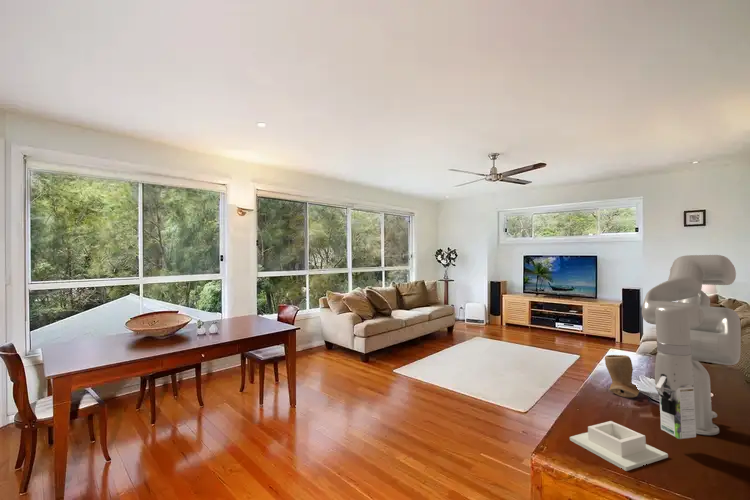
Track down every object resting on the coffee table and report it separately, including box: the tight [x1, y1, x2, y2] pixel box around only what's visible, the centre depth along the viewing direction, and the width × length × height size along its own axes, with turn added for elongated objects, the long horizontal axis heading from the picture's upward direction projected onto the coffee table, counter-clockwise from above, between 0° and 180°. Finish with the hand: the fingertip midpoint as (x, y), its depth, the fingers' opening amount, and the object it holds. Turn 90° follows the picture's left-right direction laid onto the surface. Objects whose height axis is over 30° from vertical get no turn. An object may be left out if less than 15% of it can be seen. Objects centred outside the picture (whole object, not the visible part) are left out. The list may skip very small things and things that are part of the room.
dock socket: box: [569, 420, 669, 472], centre depth 102 cm, size 17×17×5 cm
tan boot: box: [604, 354, 641, 398], centre depth 144 cm, size 15×12×15 cm
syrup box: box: [658, 385, 697, 440], centre depth 100 cm, size 6×6×14 cm
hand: (677, 409), depth 100 cm, fingers closed on syrup box, 6 cm apart
